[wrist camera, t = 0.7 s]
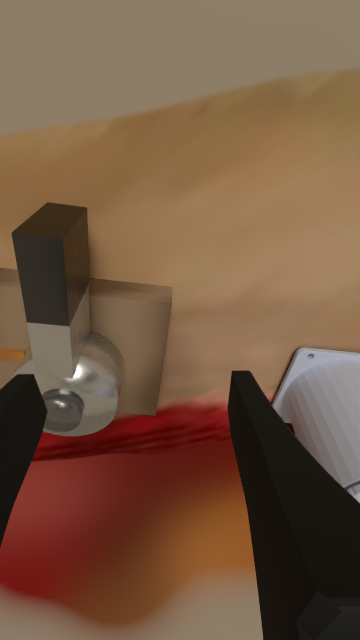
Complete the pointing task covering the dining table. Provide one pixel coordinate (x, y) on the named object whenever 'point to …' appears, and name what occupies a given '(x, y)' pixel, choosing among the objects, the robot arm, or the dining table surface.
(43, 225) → the lever handle
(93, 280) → the walnut base
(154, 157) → the dining table surface
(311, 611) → the robot arm
